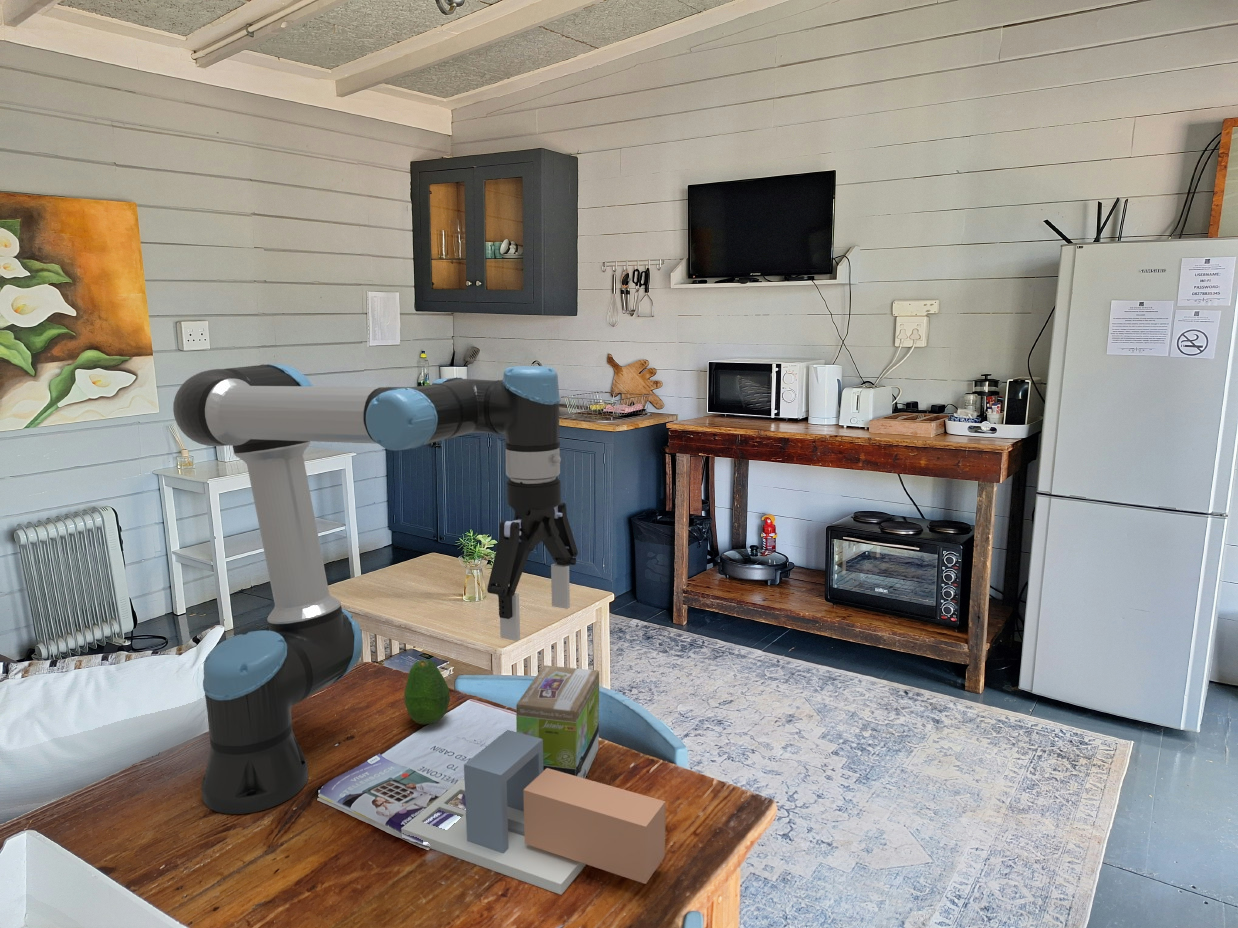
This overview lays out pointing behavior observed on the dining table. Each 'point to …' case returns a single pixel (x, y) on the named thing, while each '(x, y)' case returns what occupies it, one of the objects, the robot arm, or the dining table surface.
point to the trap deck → (497, 816)
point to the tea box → (563, 717)
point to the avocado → (426, 693)
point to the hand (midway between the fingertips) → (536, 622)
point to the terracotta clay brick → (595, 824)
